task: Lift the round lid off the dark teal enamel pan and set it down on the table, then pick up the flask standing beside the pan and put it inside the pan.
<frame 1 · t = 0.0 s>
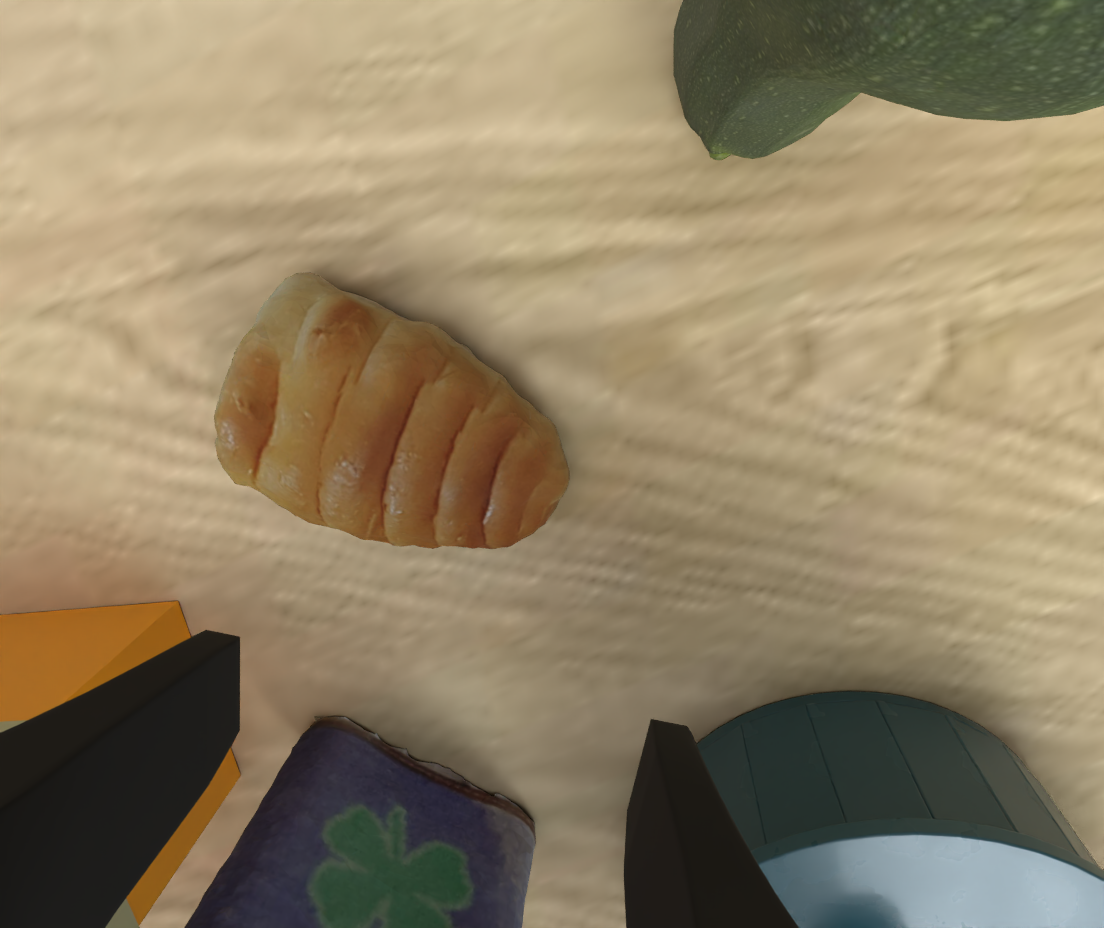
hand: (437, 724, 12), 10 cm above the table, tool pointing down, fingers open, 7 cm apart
pan: (840, 849, 25), on the table
flask: (421, 780, 26), on the table
pastry: (399, 408, 21), on the table
vegetable: (753, 77, 18), on the table
orange juice: (105, 694, 26), on the table
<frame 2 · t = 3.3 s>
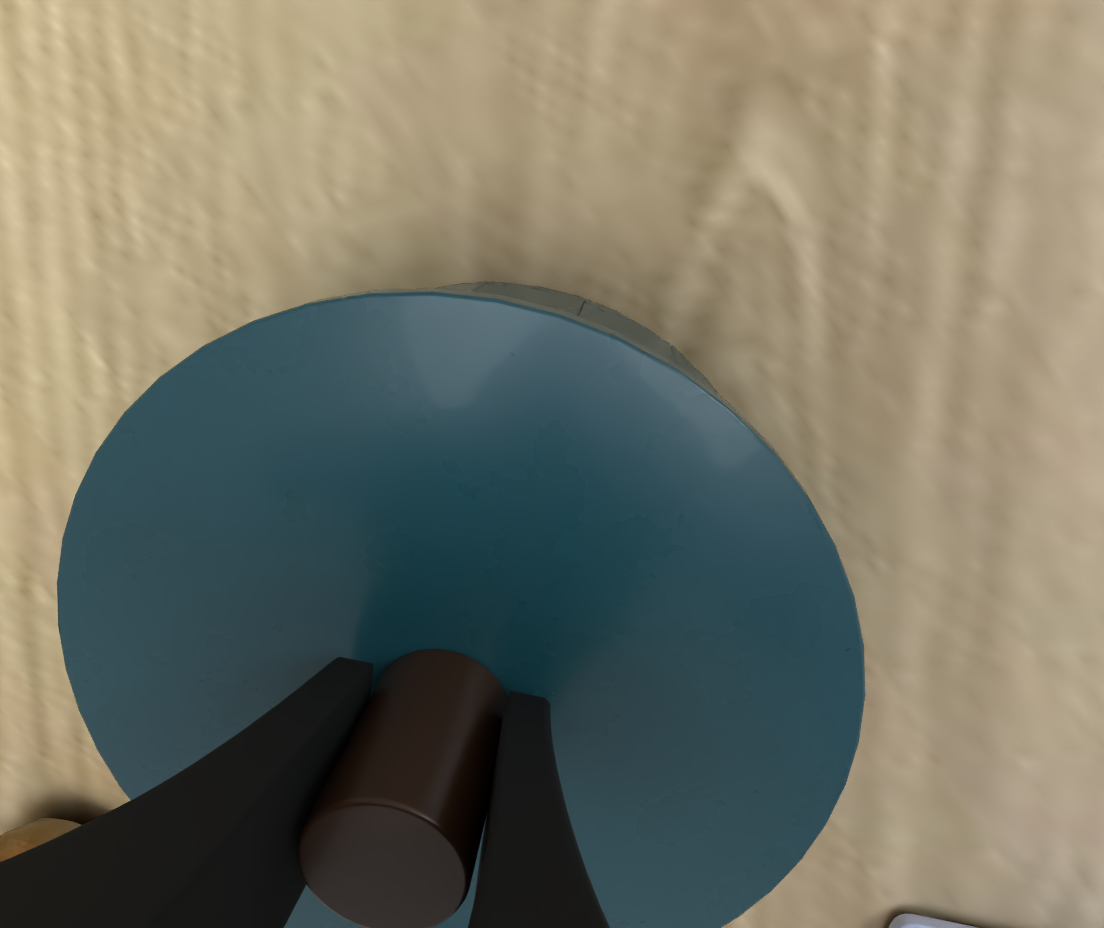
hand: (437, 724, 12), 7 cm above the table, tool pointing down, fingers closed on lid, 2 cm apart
pan: (500, 550, 18), on the table
pastry: (73, 904, 25), on the table
lid: (449, 686, 13), point 5 cm above the table, touching gripper, pan
when the fingers open (2 cm above the table, at t = 8.0 s): lid stays where it is, point 1 cm above the table.
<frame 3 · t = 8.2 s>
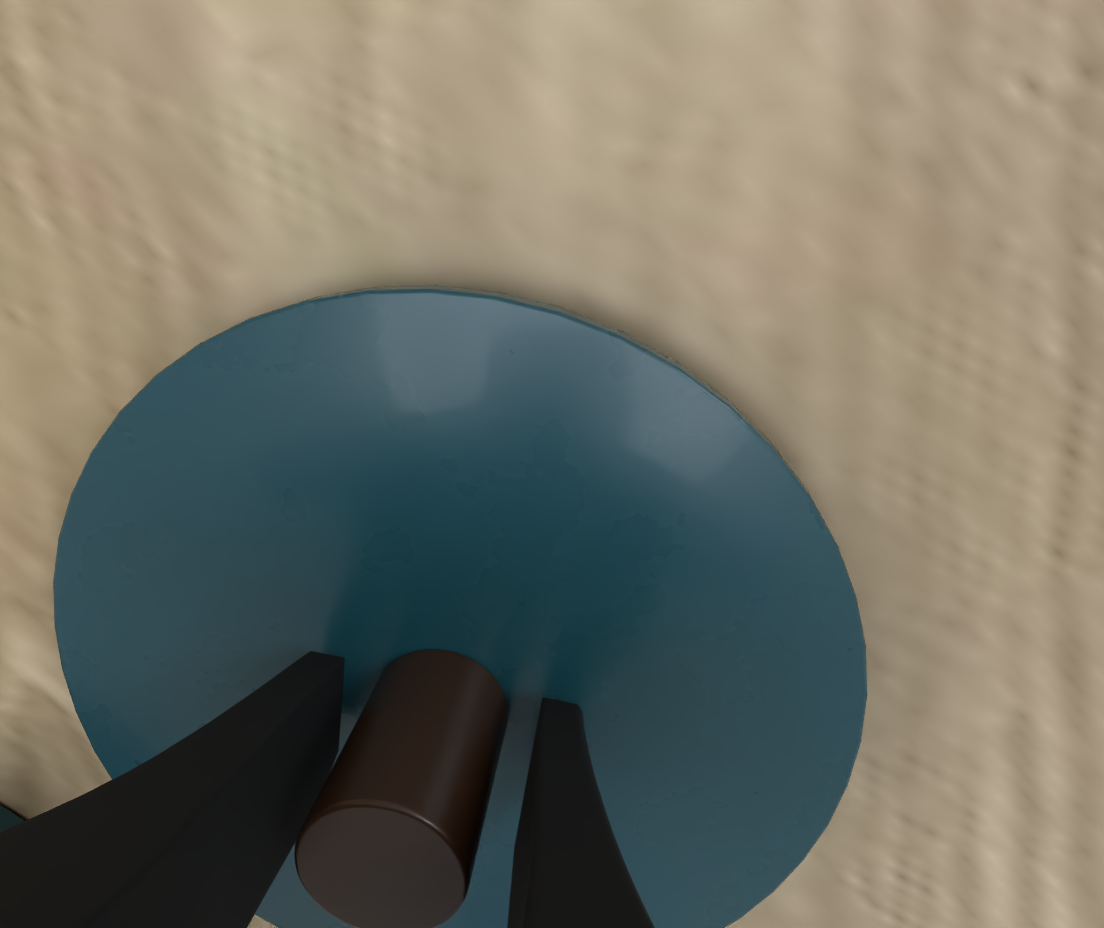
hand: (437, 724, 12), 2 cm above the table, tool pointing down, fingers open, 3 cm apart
lid: (448, 687, 13), point 1 cm above the table
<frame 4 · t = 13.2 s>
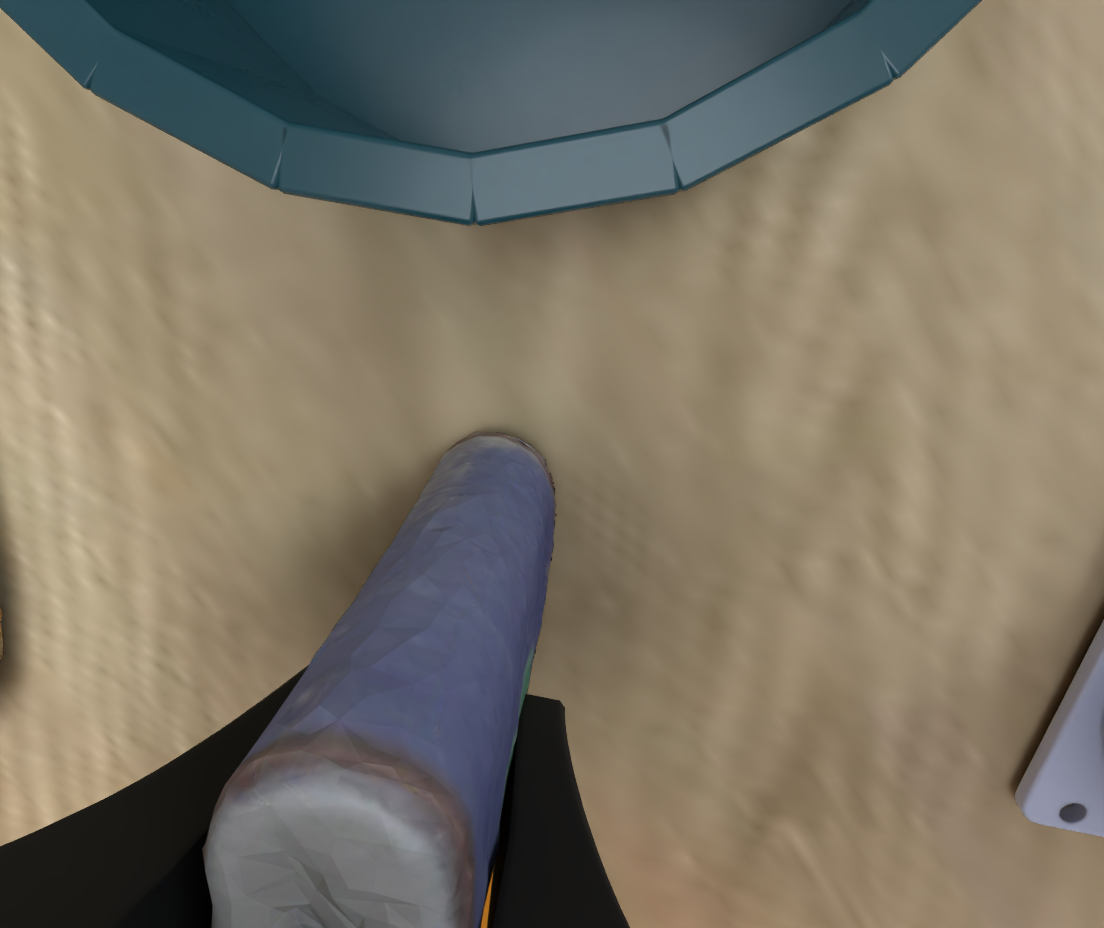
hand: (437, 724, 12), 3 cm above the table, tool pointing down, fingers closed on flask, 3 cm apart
flask: (470, 620, 16), on the table, touching gripper
when the fingers open (4 cm above the table, at t = 18.2 s): flask stays where it is, resting on pan.
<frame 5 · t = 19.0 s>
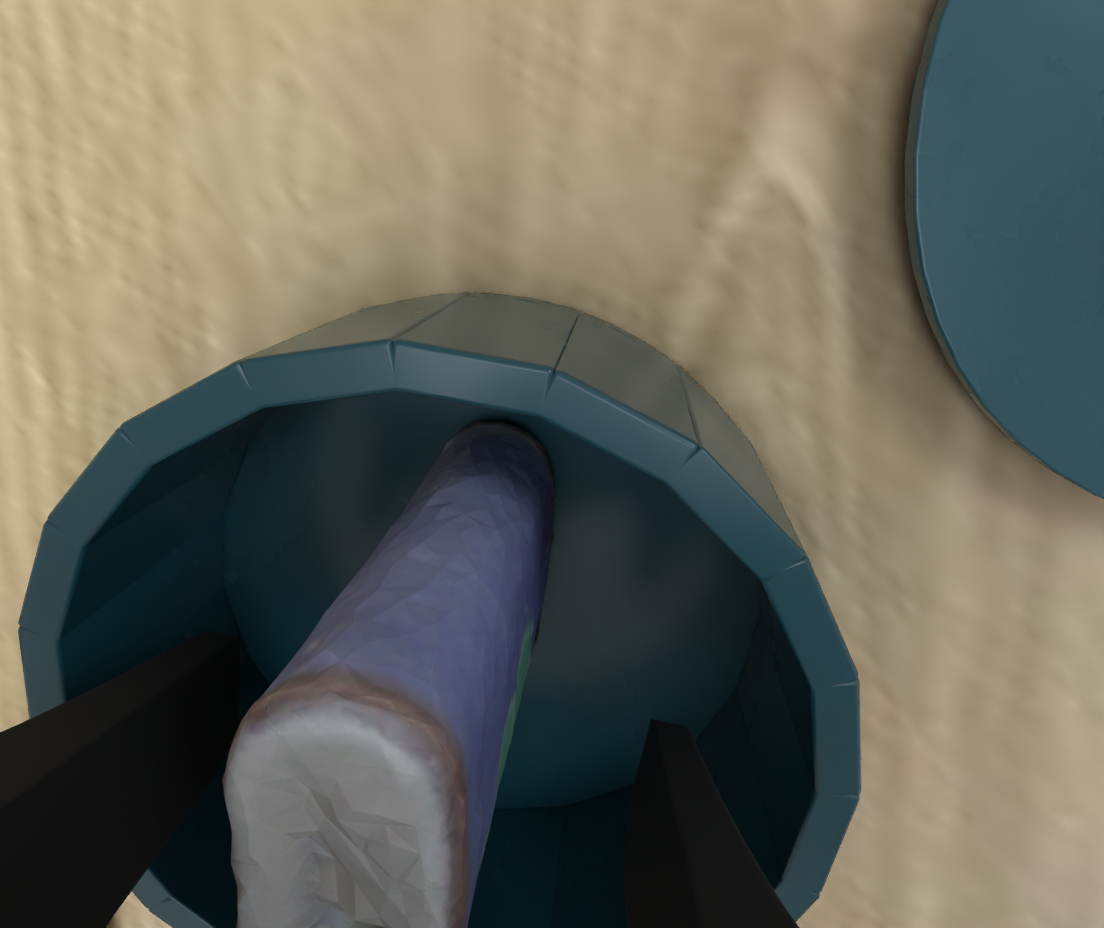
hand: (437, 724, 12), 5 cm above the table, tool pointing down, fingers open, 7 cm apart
pan: (486, 588, 17), on the table
flask: (476, 604, 16), resting on pan
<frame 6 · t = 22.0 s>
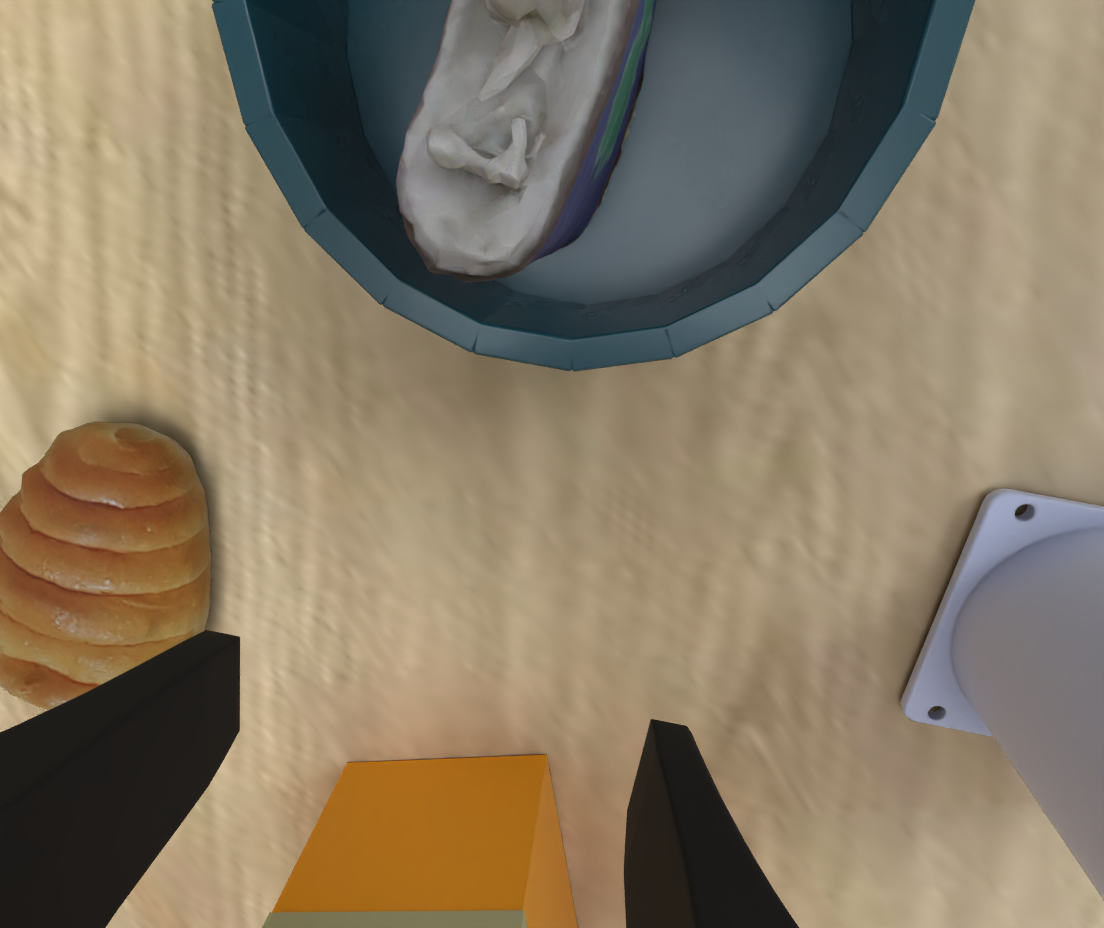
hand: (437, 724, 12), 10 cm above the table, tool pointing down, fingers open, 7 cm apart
pan: (591, 52, 18), on the table
flask: (583, 61, 18), resting on pan
pastry: (128, 553, 25), on the table
orange juice: (466, 845, 28), on the table
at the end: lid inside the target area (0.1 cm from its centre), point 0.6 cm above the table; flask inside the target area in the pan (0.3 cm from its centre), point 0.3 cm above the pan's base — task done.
